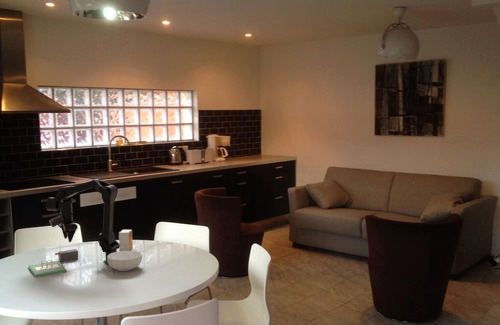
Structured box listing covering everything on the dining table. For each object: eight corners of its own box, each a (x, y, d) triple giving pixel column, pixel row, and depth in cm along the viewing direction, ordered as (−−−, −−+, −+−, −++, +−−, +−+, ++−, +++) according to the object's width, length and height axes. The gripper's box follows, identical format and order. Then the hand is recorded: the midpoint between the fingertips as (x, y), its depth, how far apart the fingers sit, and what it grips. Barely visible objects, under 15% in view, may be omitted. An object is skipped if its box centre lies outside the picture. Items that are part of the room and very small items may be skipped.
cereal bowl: (133, 275, 233) (133, 260, 232) (101, 273, 236) (100, 258, 236) (148, 264, 250) (147, 250, 249) (117, 263, 253) (117, 249, 252)
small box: (129, 251, 275) (128, 232, 274) (119, 251, 275) (118, 232, 274) (132, 247, 283) (132, 229, 282) (123, 247, 283) (122, 229, 282)
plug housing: (78, 259, 260) (78, 250, 260) (56, 262, 254) (56, 254, 254) (76, 257, 264) (75, 248, 264) (54, 260, 258) (54, 252, 258)
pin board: (66, 271, 239) (66, 263, 239) (35, 277, 231) (35, 268, 231) (57, 262, 254) (57, 254, 254) (28, 267, 246) (28, 259, 246)
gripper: (46, 210, 261) (47, 239, 262) (54, 215, 245) (55, 246, 247) (68, 207, 267) (69, 236, 268) (77, 212, 251) (78, 243, 253)
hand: (67, 240), depth 259 cm, fingers open, 9 cm apart
